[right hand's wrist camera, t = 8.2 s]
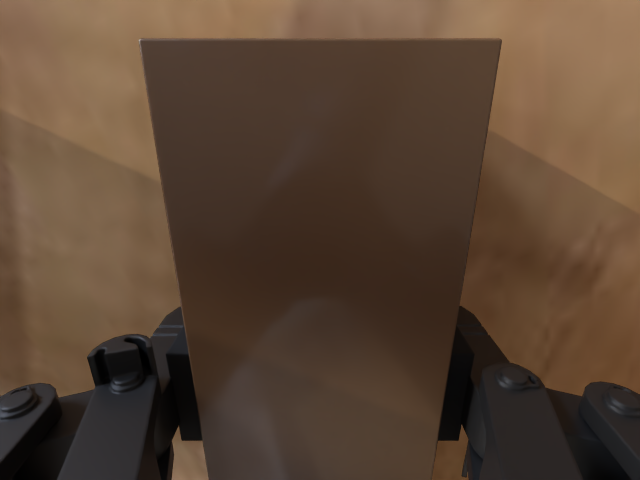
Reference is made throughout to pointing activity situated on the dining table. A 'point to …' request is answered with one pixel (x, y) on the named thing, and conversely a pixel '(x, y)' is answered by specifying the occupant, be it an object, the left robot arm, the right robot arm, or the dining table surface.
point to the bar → (320, 241)
